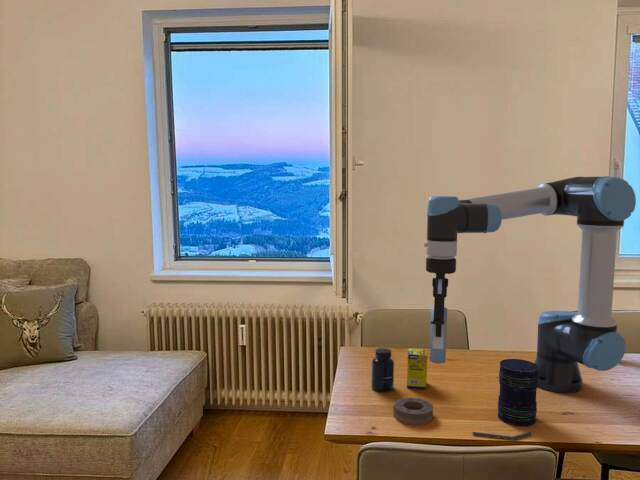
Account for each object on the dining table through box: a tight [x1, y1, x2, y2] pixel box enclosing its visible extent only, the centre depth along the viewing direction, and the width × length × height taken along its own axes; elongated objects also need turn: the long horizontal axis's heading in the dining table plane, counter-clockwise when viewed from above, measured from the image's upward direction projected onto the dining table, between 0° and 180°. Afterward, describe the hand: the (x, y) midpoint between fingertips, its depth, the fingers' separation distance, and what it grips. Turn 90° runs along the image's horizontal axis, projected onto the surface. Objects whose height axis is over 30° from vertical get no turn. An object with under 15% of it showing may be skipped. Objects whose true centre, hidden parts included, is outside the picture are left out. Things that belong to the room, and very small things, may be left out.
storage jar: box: [497, 358, 539, 428], centre depth 142 cm, size 10×10×15 cm
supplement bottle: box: [370, 347, 395, 393], centre depth 162 cm, size 7×7×12 cm
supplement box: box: [406, 347, 428, 390], centre depth 165 cm, size 6×6×11 cm
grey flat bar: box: [472, 431, 533, 441], centre depth 133 cm, size 14×4×1 cm, turn 75°
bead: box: [393, 396, 434, 426], centre depth 144 cm, size 10×10×3 cm
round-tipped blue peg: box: [429, 306, 448, 365], centre depth 137 cm, size 4×4×16 cm
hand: (438, 345), depth 138 cm, fingers closed on round-tipped blue peg, 4 cm apart
